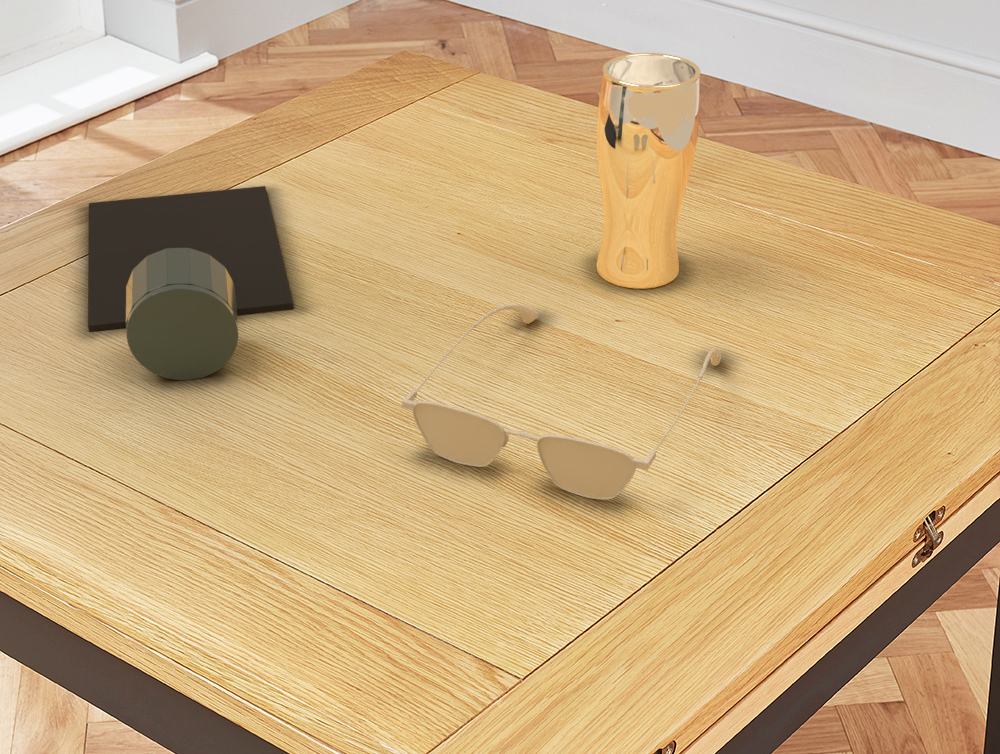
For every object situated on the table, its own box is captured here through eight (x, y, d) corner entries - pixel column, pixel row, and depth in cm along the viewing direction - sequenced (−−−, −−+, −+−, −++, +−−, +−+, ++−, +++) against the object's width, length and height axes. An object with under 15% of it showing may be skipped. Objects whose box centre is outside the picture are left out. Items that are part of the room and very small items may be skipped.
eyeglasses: (401, 450, 81) (398, 394, 79) (520, 314, 94) (521, 263, 92) (643, 515, 76) (648, 457, 74) (734, 362, 89) (740, 309, 87)
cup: (111, 363, 86) (113, 320, 89) (216, 392, 89) (213, 349, 92) (146, 274, 82) (146, 233, 86) (254, 308, 85) (249, 267, 89)
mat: (293, 309, 95) (293, 302, 95) (89, 332, 92) (87, 325, 92) (266, 191, 110) (265, 185, 110) (89, 208, 108) (88, 202, 108)
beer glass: (575, 280, 98) (583, 77, 89) (611, 241, 103) (622, 45, 94) (665, 300, 96) (683, 94, 87) (697, 259, 101) (717, 60, 92)
